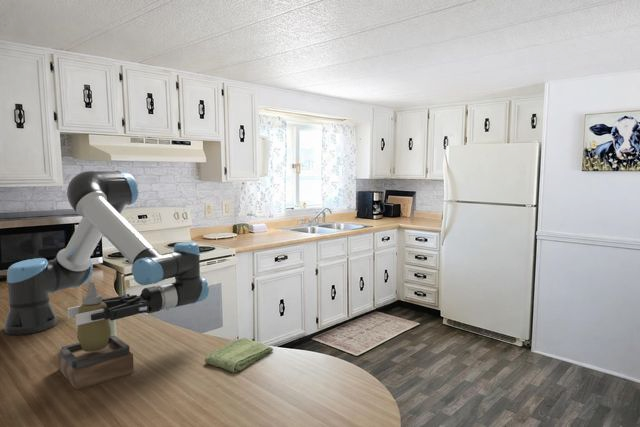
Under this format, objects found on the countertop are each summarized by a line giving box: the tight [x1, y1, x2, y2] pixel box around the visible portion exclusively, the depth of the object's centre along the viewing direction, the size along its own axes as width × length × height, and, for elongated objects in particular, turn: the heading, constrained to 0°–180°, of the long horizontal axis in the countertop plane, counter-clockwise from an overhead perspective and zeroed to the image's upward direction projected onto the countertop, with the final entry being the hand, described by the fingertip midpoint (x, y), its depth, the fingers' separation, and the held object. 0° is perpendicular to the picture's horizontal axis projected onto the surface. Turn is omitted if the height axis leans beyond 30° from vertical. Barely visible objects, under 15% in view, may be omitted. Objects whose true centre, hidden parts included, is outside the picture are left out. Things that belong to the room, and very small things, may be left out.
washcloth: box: [204, 337, 274, 373], centre depth 124 cm, size 13×18×3 cm
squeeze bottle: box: [76, 282, 111, 352], centre depth 114 cm, size 8×8×18 cm
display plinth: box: [57, 335, 135, 391], centre depth 116 cm, size 16×14×6 cm
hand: (72, 316), depth 111 cm, fingers closed on squeeze bottle, 6 cm apart
